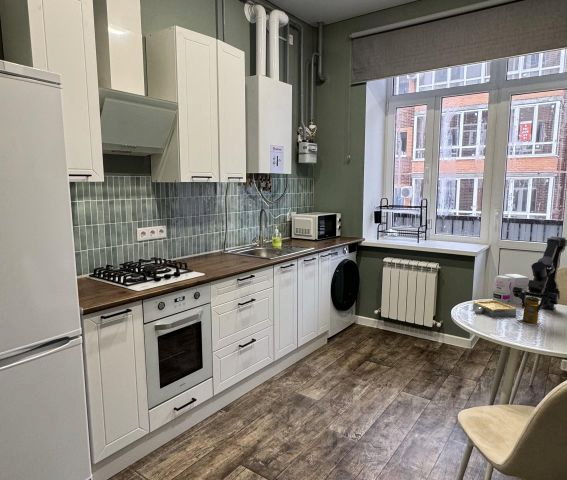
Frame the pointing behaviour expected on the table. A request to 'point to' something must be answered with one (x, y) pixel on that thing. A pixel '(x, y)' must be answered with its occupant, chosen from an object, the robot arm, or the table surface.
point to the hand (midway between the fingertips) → (530, 309)
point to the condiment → (530, 311)
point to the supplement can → (502, 289)
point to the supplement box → (517, 285)
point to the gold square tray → (494, 308)
